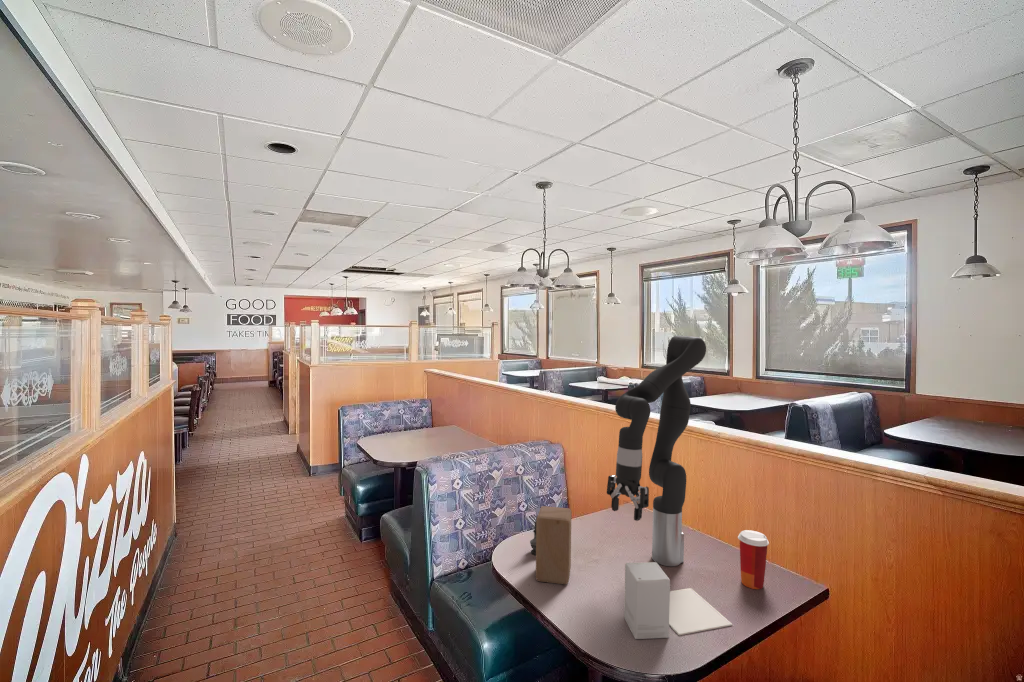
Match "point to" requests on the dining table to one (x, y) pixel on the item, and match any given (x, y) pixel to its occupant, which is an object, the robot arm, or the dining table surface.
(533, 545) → the salt shaker
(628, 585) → the supplement box
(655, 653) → the dining table surface
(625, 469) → the robot arm
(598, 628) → the dining table surface
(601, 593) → the dining table surface
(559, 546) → the wooden block
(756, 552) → the coffee cup
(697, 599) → the mat
